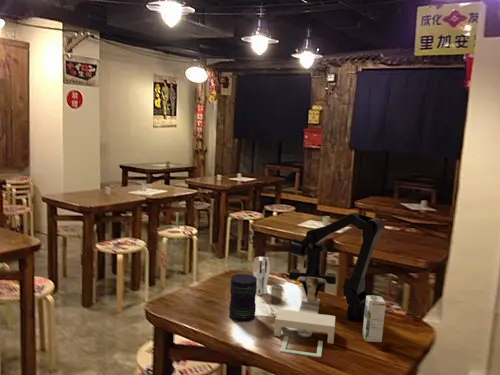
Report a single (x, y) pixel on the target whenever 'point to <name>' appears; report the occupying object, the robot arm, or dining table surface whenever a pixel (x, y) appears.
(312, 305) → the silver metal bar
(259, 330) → the dining table surface
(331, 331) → the cream bridge block
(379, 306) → the syrup box
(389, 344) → the dining table surface
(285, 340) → the frame
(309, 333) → the disc
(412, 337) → the dining table surface
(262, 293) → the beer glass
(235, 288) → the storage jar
